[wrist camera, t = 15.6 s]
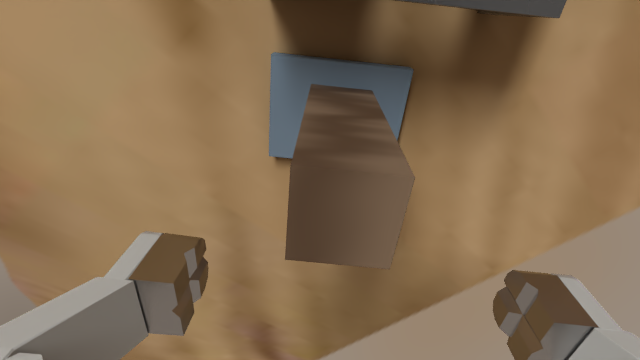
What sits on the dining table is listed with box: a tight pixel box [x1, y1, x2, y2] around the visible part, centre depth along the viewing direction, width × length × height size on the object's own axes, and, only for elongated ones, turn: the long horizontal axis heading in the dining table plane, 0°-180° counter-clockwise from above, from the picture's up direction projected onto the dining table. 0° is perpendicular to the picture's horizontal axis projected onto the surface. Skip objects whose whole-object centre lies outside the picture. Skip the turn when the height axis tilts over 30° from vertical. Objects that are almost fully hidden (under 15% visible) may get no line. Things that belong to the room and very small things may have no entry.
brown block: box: [285, 84, 415, 269], centre depth 16 cm, size 4×4×12 cm
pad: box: [269, 52, 413, 158], centre depth 22 cm, size 9×7×1 cm
